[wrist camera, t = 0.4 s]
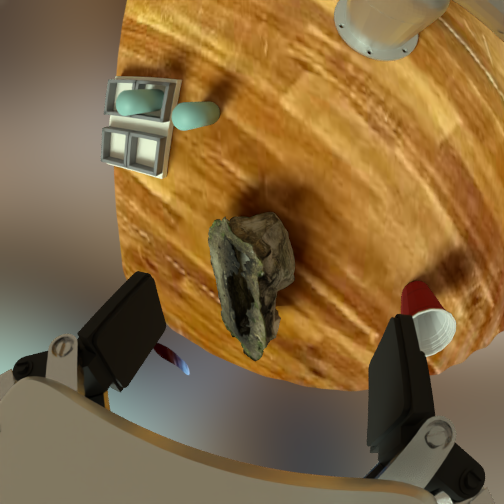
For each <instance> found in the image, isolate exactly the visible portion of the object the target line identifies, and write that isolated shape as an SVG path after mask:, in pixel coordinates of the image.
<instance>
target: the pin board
mask: <svg viewBox="0 0 504 504" xmlns="http://www.w3.org/2000/svg"><path fill="white" fill-rule="evenodd" d="M181 83H182V80H178V79H168V78H154V77H133V76H116V78H115V79H114V80H113V79H111V80H108V86H107V92H106V100H105V109H104V114H106V115H110V124H109V127H105V128H103V130H102V147H101V161H102V162H106V163H107V164H110V165H114V166H118V167H121V168H125V169H129V170H132V171H136V172H139V173H143V174H147V175H150V176H153V177H157V178H160V179H163V178H165V177H166V176H167V168H168V160H169V152H170V145H171V138H172V132H173V126H174V124H173V122H172V112H173V109H174V108H175V107H176V106H177V103H178V98H179V93H180V88H181Z"/></svg>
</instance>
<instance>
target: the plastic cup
mask: <svg viewBox="0 0 504 504" xmlns="http://www.w3.org/2000/svg"><path fill="white" fill-rule="evenodd" d="M401 314H404V315H411V316H412V317H413V321H414V325H415V329H416V333H417V338H418V342H419V347H420V351H423V352H424V353H425V356H426V357H427V356H430V355H434V354H435V353H437V352H439V351H441V350H442V349H444V348H445V347H446V346H447V345H448V343H449V342H450V341H451V340H452V338H453V336H454V334H455V332H456V321H455V319H454V318H453V316H452V314H451V313H449V312H447V311H446V310H445V309H444V308H443V307H442V305H441V304H440V302H439V301H438V299H437V298H436V296H435V295H434V294H433V292H432V291H431V290H430V288H429V287H428V285H427V284H426V283H424V282H422V281H413V282H411V283H409V284H408V285H406V286H405V288H404V289H403V292H402V296H401Z"/></svg>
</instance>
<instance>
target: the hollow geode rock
mask: <svg viewBox="0 0 504 504" xmlns="http://www.w3.org/2000/svg"><path fill="white" fill-rule="evenodd" d="M208 234H209V237H208V243H209V247H210V255H211V265H212V267H213V271H214V275H215V278H216V283H217V289H218V296H219V299H220V302H221V307H222V311H221V316H222V320H223V322H224V324H225V326H226V328H227V330H229V331H230V332H231V335H232V337H236V338H237V339H238V340H239V341H240V342H241V345H242V347H243V348H244V350H243V352H244V354H246V355H247V356H248V357H250V358H251V359H252V360H254V361H257V360H259V359H260V358H261V357H262V355H263V350H264V349H265V348H266V347H267V345H268V343H269V342H270V340H272V339H274V338H276V336H275V335H277V331H278V327H279V322H280V319H281V318H280V317H279V315H278V311H277V310H276V309H275V305H276V297H277V291H279V290H281V289H284V288H285V287H287V286H288V285H290V284H291V283H293V281H294V280H295V277H294V270H295V261H294V255H293V250H292V247H291V243H290V240H289V237H288V232H287V230H286V229H285V228H284V226H283V224H282V222H281V220H280V219H279V217H278V216H277V215H276V214H275V213H273V212H266V213H262V214H258V215H255V216H252V217H244V216H240V217H233V218H231V219H230V221H228V220H227V219H226V216H225V217H224V218H223V219H222V221H220V219H217V220H215V221H214V223H213V225H212V226H211V227H210V229H209V233H208Z"/></svg>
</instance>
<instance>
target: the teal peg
mask: <svg viewBox="0 0 504 504" xmlns="http://www.w3.org/2000/svg"><path fill="white" fill-rule="evenodd" d="M219 116H220V110H219V107H218V106H217V105H216V104H215V103H213V102H184V103H180V104H178V105H177V106H176V107H175V108H174V109H173V112H172V122H173V124H174V126H175V127H176V128H178V129H179V130H190V129H194V128H198V127H202V126H207V125H211V124H214V123H215V122H216V121H217V120H218V119H219Z"/></svg>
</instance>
